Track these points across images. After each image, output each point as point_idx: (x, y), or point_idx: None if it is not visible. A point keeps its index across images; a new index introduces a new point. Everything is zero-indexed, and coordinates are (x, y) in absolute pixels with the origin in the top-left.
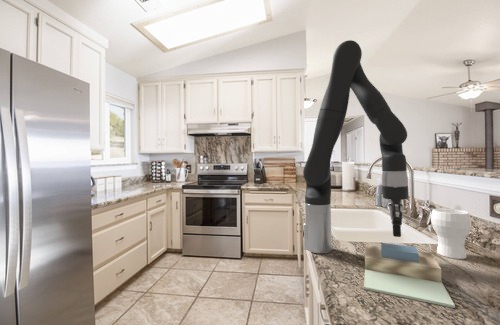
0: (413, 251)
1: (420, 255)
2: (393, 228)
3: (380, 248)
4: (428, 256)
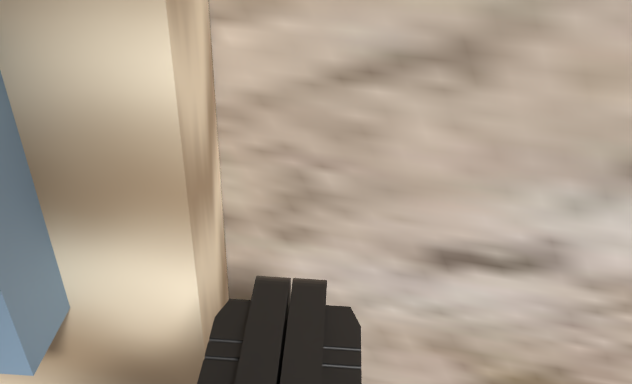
0: None
1: (90, 337)
2: (240, 377)
3: (75, 12)
4: (105, 376)
